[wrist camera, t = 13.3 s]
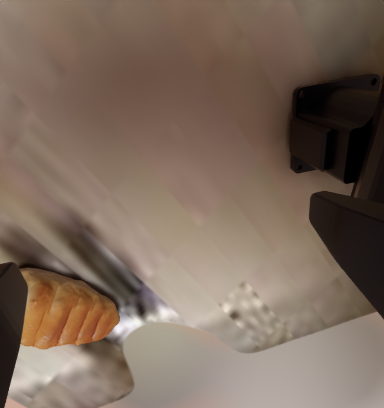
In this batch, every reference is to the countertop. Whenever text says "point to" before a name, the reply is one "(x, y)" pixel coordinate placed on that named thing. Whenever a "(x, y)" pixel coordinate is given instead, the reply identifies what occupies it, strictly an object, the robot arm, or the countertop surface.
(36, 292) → the pastry
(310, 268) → the countertop surface
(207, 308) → the countertop surface
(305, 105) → the robot arm
